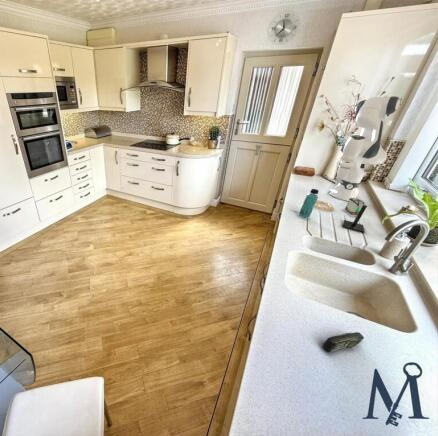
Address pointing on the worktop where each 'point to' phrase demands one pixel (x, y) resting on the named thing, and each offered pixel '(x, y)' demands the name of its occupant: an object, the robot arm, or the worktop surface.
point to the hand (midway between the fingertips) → (336, 182)
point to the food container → (354, 206)
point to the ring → (324, 207)
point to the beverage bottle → (309, 203)
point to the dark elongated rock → (342, 341)
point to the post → (355, 222)
